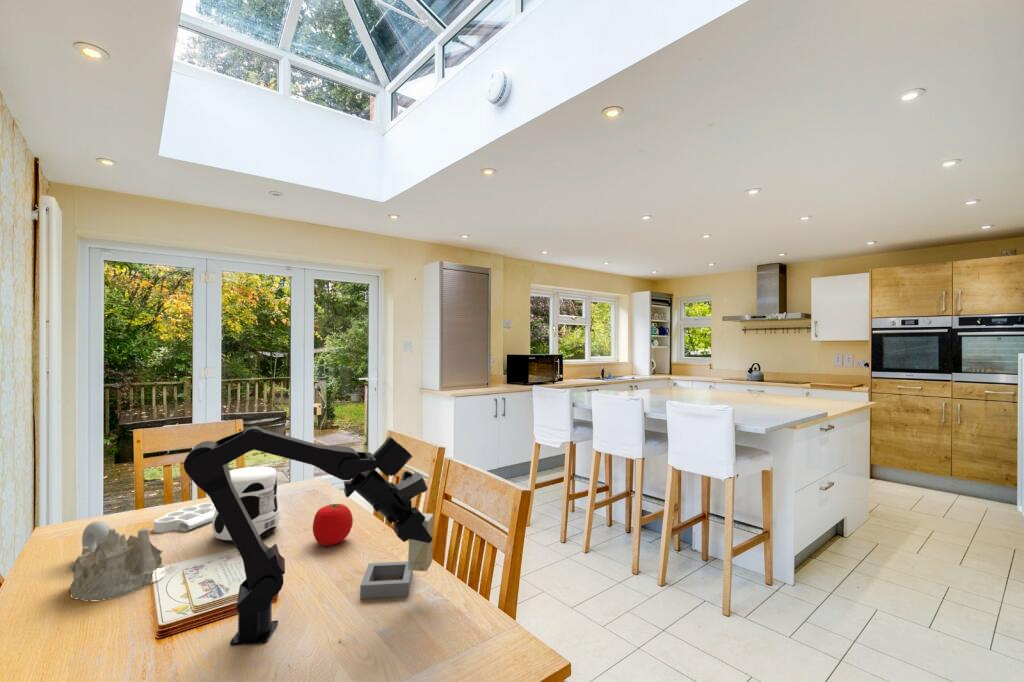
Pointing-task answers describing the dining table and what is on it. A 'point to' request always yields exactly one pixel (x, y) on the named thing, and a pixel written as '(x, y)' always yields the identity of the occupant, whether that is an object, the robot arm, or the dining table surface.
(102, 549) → the grey castle model
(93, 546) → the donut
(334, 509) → the tomato
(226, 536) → the milk container
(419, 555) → the box
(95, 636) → the dining table surface
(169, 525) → the white dimpled tray
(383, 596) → the block
